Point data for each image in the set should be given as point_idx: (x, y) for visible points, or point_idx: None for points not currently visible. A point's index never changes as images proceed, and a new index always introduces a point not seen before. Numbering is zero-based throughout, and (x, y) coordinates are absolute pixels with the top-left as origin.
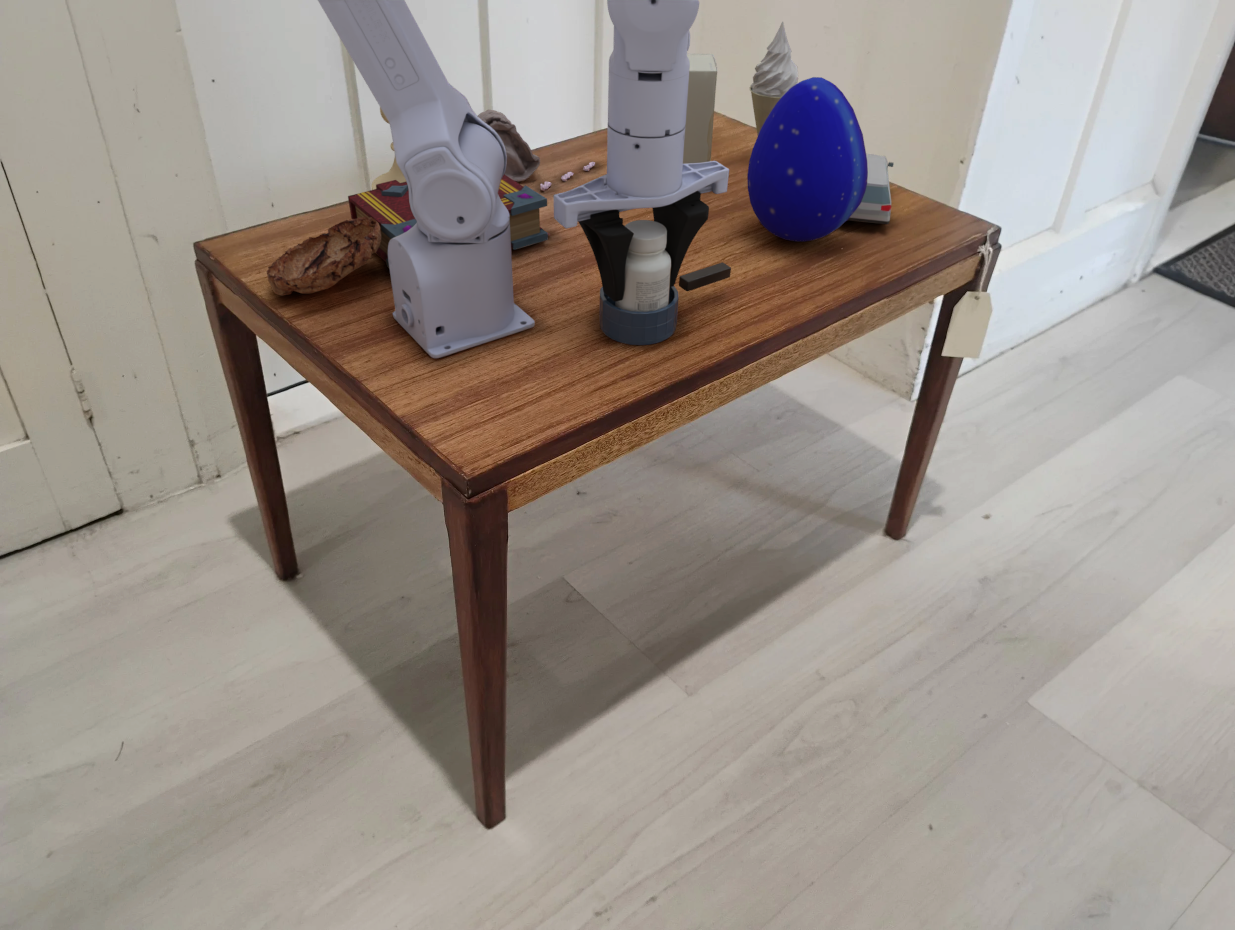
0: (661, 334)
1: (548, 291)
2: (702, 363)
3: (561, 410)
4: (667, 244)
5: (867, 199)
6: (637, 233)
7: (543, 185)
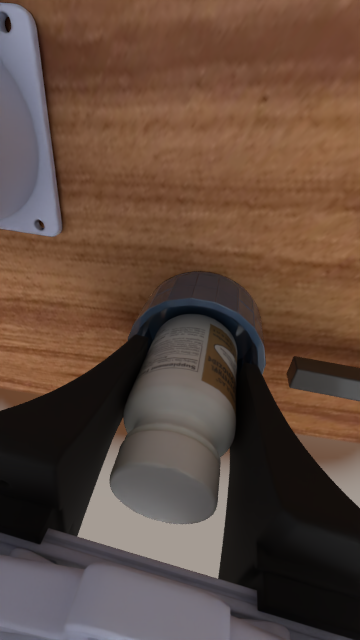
0: None
1: (146, 129)
2: None
3: (28, 373)
4: (240, 452)
5: None
6: (133, 493)
7: None
